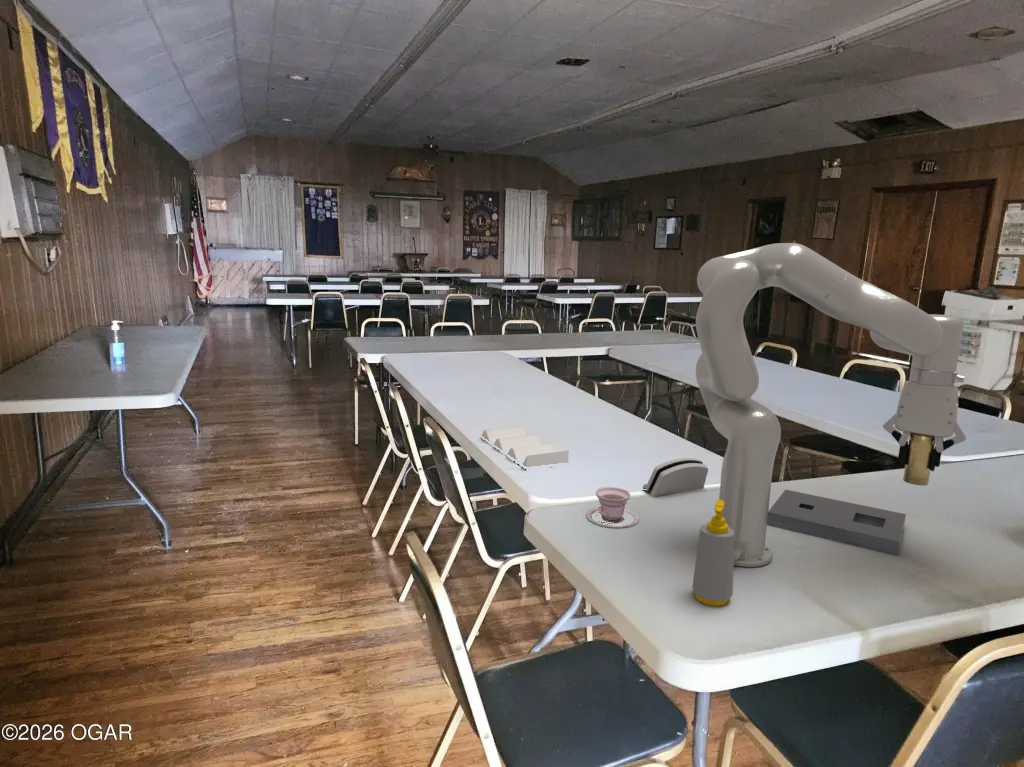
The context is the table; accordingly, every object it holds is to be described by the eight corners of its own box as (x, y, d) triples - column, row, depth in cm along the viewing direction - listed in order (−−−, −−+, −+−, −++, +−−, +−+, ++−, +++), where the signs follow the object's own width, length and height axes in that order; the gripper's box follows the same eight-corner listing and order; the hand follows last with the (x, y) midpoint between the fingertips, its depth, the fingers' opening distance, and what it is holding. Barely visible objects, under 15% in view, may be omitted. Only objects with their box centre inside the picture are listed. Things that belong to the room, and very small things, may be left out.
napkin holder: (691, 481, 178) (702, 451, 173) (702, 492, 174) (714, 462, 169) (640, 490, 171) (651, 459, 166) (650, 502, 167) (662, 470, 162)
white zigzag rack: (516, 435, 220) (516, 421, 219) (567, 467, 189) (568, 450, 188) (479, 439, 215) (480, 424, 214) (526, 473, 183) (526, 455, 182)
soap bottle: (689, 603, 116) (697, 507, 112) (693, 585, 122) (701, 493, 119) (730, 611, 114) (740, 513, 110) (732, 592, 120) (741, 499, 116)
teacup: (577, 512, 156) (578, 487, 155) (621, 505, 160) (623, 481, 159) (602, 532, 145) (603, 505, 144) (649, 525, 149) (650, 499, 148)
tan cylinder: (927, 487, 131) (935, 438, 129) (901, 482, 134) (909, 434, 132) (929, 481, 135) (936, 434, 133) (904, 476, 137) (911, 430, 135)
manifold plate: (897, 555, 136) (899, 541, 136) (766, 524, 151) (767, 512, 150) (904, 526, 151) (906, 514, 151) (784, 500, 165) (785, 489, 165)
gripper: (984, 381, 128) (968, 471, 132) (885, 370, 138) (873, 454, 142) (983, 387, 122) (967, 481, 126) (880, 374, 132) (868, 462, 136)
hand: (917, 465), depth 134 cm, fingers closed on tan cylinder, 4 cm apart
